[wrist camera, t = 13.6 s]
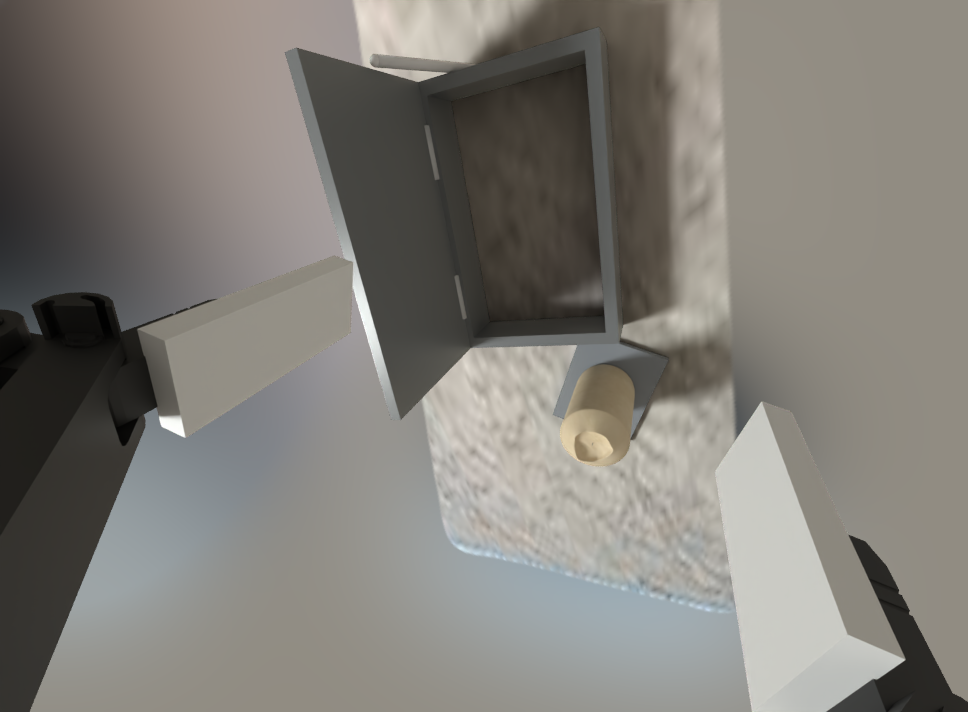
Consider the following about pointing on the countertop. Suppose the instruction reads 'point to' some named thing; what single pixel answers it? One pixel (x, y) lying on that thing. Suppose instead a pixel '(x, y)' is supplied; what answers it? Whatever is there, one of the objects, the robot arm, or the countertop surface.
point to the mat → (628, 358)
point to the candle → (599, 416)
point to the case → (437, 205)
